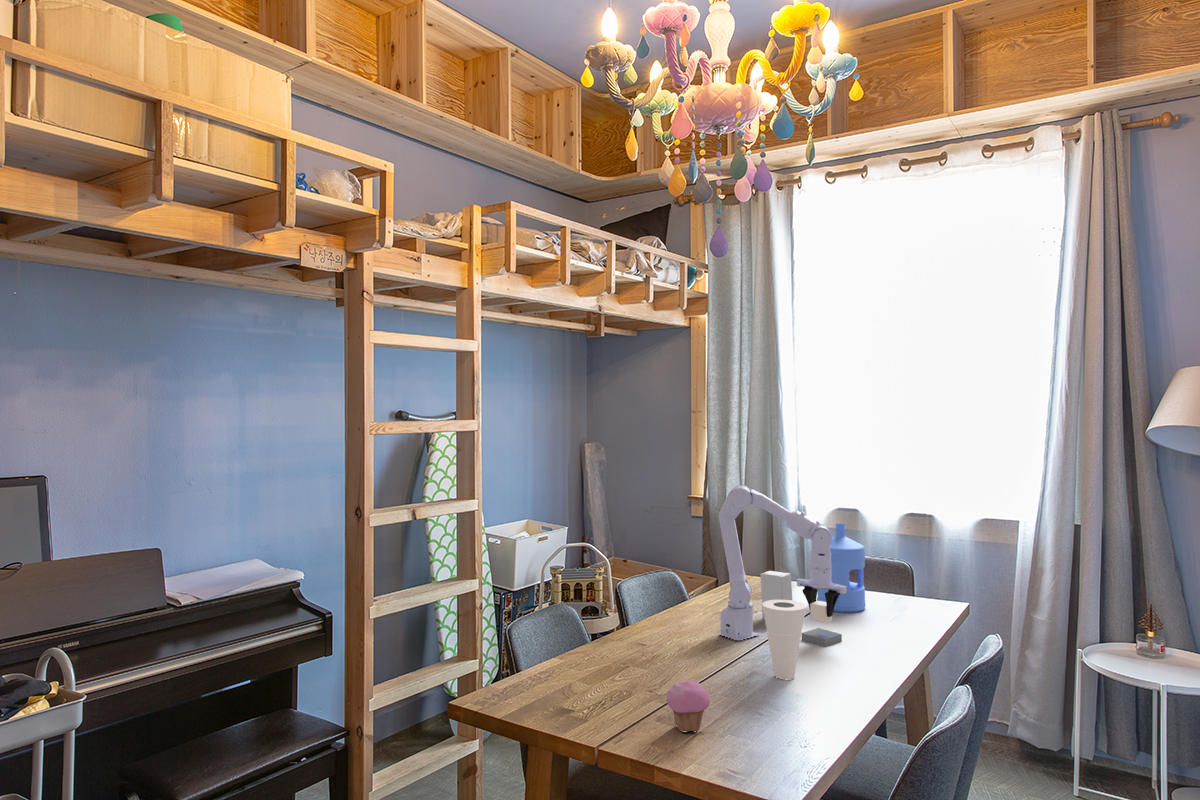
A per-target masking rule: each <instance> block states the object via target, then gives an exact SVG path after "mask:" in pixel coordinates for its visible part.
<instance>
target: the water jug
mask: <svg viewBox="0 0 1200 800" xmlns="http://www.w3.org/2000/svg"><path fill="white" fill-rule="evenodd" d="M830 546H831V550H830V552H831V582H832V583H835V584H839V585H843V586H846V588H847V593H845V594H841V593H840V595H839V597H838V599H837V601H836V604H835V607H834V610H833V612H836V613H857V612H861V611H863V610H865V608H866V586H865V585H864V584H865V583H864V582H865V581H864V568H865V567H866V566H865V564H866V562H865V560H866V552H865V551H866V550H865V546H864V545H863V544H861V543H860V542H857V541H855V540H853V539H852V538H850V537H847V535H846V524H845V523H835V534H834V536H832V542H831V544H830ZM854 570H857V582H854V581H850V572H851V571H854ZM826 592H828V591H826V590H821V589H818V591H817V598H816V601H823V602H826V598H825V593H826Z"/></svg>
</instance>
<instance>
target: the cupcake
mask: <svg viewBox="0 0 1200 800" xmlns="http://www.w3.org/2000/svg"><path fill="white" fill-rule="evenodd" d="M666 704H667V705H668V707H669V708H670V709H671V710H672V712H673V715H674V723H675V726H676V725H677V726H678V728H679V729H680V730H682V731H698V730H699V731H700V728H701V725H702V719H703V715H704V712H705V710H707V709H708V708H709V706H710V695H709V693H708V690H707V689H706V688H704V687H703V686H702V685H701V683H699V682H698V681H696V680H690V679H689V680H688V679H687V680H680V681H679V682H676V683H675V684H673V685H672V687H671V688H669V689H668V691H667V694H666ZM678 728H677V729H678ZM679 729H678V730H679ZM680 730H679V731H680ZM699 731H698V732H699Z"/></svg>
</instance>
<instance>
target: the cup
mask: <svg viewBox="0 0 1200 800" xmlns="http://www.w3.org/2000/svg"><path fill="white" fill-rule="evenodd" d="M762 606H763V612H764V617H765V619H764V622H765V627H766V632H767V639H768V646H769V649H770V650H769V651H770V658H771V665H772V668H773V674H774V675H775V676H776V677H777V678H781V679H793V678H794V679H795V677H796V669H797V663H798V657H799V656H798V655H799V652H800V645H801V641H802V633H803V631H802V629H804V620H805V615H806V607H807V606H806V604H805V603H803V602H801V601H797V600H793V599H792V600H768V601H765V602H763V603H762V602H761V607H762ZM775 676H774V677H775ZM777 678H776V679H777ZM794 679H793V680H794Z"/></svg>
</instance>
